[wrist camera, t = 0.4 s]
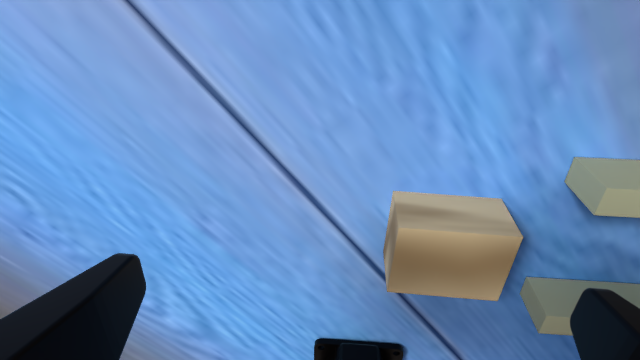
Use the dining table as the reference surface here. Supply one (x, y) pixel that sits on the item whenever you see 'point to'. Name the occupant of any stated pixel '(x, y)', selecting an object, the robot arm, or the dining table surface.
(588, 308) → the robot arm
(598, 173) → the sage slot bracket
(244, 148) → the dining table surface
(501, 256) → the maple bracket block
